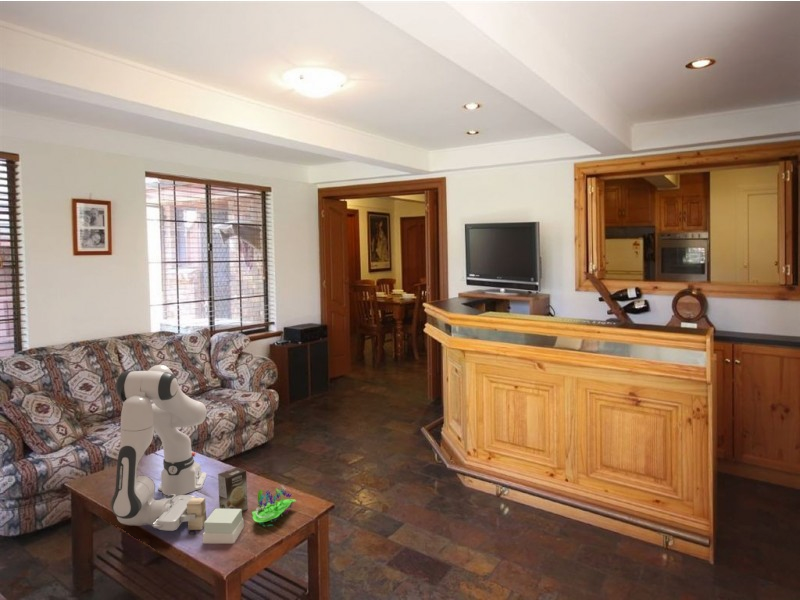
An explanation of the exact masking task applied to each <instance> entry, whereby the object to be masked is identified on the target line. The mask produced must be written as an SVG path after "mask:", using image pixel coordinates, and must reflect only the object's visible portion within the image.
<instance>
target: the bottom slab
mask: <svg viewBox="0 0 800 600" xmlns="http://www.w3.org/2000/svg"><path fill="white" fill-rule="evenodd" d="M244 523H245V522H244V517H242V520H241V522H240V523H239V524H238V526H237V527H236V529H235V530H234V532H233V533H232V534H224V533H205V531H204V532H203V533H202V542H203V543H202V544H235V542H236V541H237V539H238V537H239V536H240V534H241V532H242V531H243V529H244V528H245V525H244Z"/></svg>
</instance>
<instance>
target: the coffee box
mask: <svg viewBox="0 0 800 600" xmlns="http://www.w3.org/2000/svg"><path fill="white" fill-rule="evenodd" d="M217 475H218V476H217V480H218V483H217V484H218V505H219V508H220V509H242V512H244V511H247V510H248V509H249V506H248V505H249V504H248V502H249V501H248V483H247V482H248V481H247V470H245V469H243V468H241V467H238V466H237V467H234V468H231V469H229V470H228V469H227V470H226V471H223V472H220V473H218V474H217Z"/></svg>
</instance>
